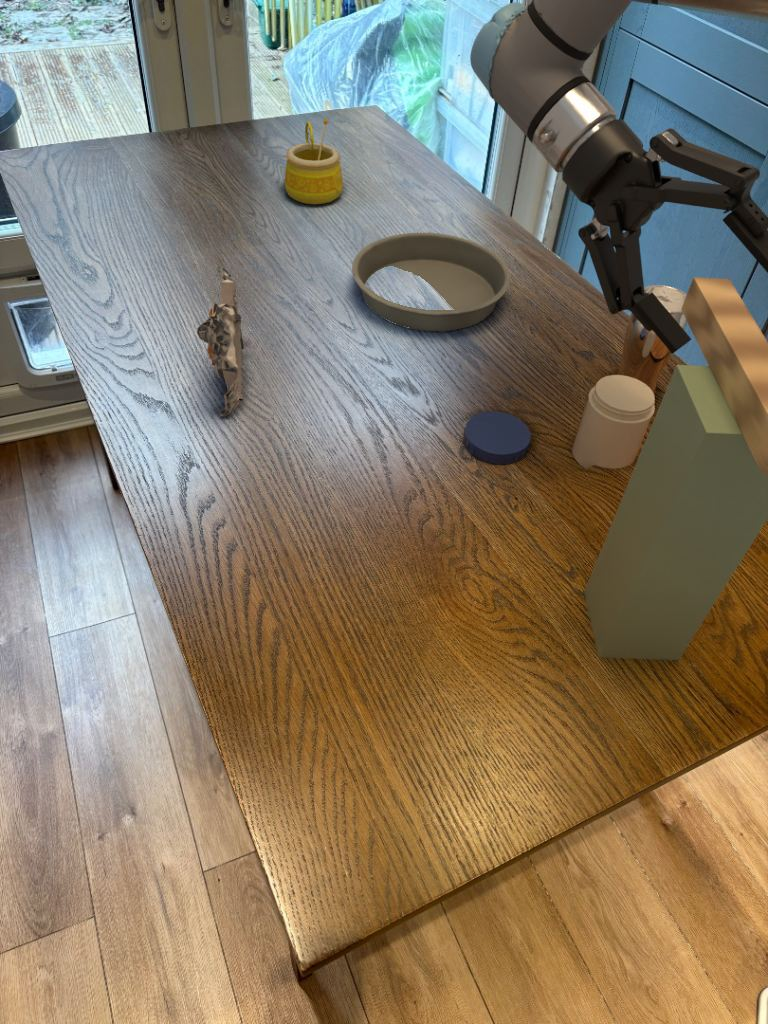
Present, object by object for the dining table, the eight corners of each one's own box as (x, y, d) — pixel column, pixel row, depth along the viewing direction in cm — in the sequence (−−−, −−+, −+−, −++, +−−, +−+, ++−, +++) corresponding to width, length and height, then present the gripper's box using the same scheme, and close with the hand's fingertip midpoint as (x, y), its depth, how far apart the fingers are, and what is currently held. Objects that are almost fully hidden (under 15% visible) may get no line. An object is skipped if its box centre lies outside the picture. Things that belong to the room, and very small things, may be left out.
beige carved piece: (214, 351, 106) (202, 266, 96) (244, 351, 106) (236, 266, 97) (209, 420, 96) (196, 332, 86) (243, 419, 96) (234, 331, 87)
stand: (580, 598, 79) (676, 364, 57) (655, 601, 80) (778, 369, 58) (594, 664, 74) (706, 432, 52) (674, 667, 74) (819, 437, 52)
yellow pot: (329, 213, 137) (329, 145, 128) (275, 201, 139) (271, 133, 131) (355, 186, 146) (357, 121, 137) (304, 175, 148) (303, 110, 139)
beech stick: (680, 309, 63) (693, 276, 61) (715, 311, 63) (729, 278, 61) (761, 473, 49) (781, 439, 47) (806, 475, 49) (828, 441, 47)
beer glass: (636, 374, 108) (670, 279, 97) (666, 403, 103) (706, 307, 92) (596, 384, 105) (626, 288, 95) (626, 414, 101) (661, 317, 90)
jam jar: (646, 464, 95) (672, 402, 87) (599, 483, 92) (622, 421, 84) (605, 428, 99) (627, 366, 92) (559, 445, 96) (578, 382, 89)
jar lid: (467, 416, 99) (469, 406, 98) (530, 427, 98) (533, 417, 97) (459, 458, 93) (460, 447, 92) (526, 470, 93) (528, 459, 91)
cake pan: (390, 243, 130) (392, 218, 127) (525, 280, 124) (530, 255, 121) (323, 310, 115) (323, 283, 112) (473, 356, 109) (478, 329, 105)
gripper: (508, 242, 84) (629, 388, 82) (641, 46, 62) (810, 241, 60) (552, 218, 87) (668, 358, 86) (692, 23, 65) (855, 208, 63)
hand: (727, 310), depth 73 cm, fingers open, 13 cm apart
